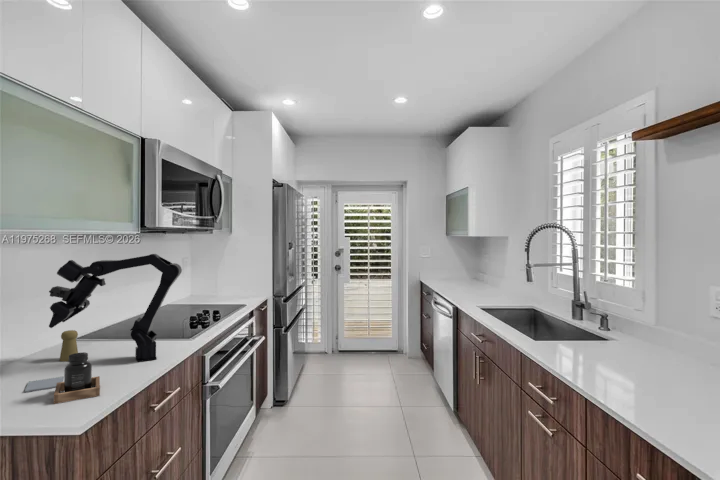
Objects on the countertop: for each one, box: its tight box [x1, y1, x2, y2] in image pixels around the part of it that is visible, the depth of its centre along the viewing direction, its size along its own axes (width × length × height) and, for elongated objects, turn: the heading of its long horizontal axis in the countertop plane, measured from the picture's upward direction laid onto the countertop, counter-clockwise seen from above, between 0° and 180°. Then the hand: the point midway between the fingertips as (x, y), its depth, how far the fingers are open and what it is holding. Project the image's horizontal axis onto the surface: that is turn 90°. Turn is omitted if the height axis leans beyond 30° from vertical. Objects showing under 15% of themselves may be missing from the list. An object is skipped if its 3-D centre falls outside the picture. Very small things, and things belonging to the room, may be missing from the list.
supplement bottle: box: [63, 352, 93, 393], centre depth 119 cm, size 7×7×12 cm
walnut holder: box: [53, 375, 101, 405], centre depth 119 cm, size 11×11×2 cm
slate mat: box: [24, 376, 64, 393], centre depth 125 cm, size 9×9×1 cm
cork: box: [59, 329, 79, 363], centre depth 150 cm, size 6×6×11 cm
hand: (56, 324), depth 144 cm, fingers open, 9 cm apart
